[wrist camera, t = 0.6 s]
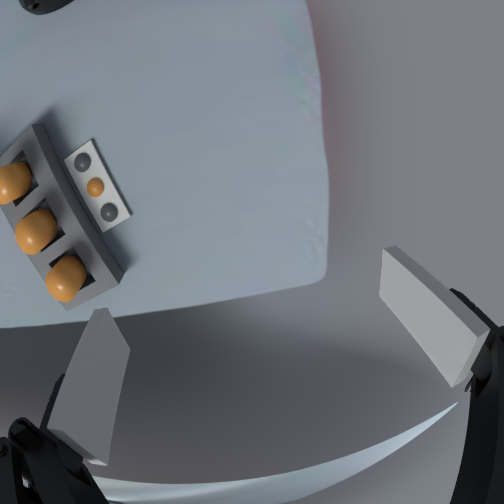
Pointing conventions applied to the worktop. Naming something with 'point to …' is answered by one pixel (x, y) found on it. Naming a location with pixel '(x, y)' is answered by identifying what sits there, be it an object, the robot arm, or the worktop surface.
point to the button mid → (36, 231)
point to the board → (60, 216)
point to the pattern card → (96, 187)
